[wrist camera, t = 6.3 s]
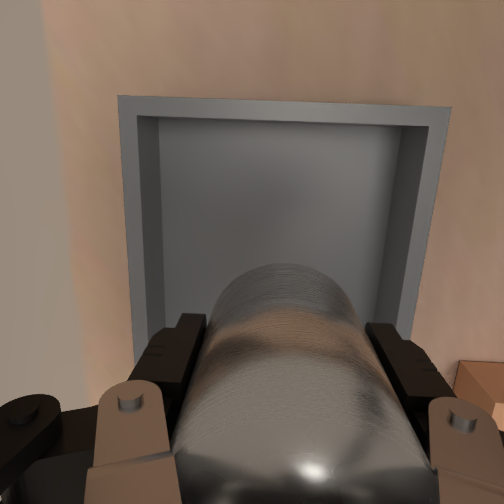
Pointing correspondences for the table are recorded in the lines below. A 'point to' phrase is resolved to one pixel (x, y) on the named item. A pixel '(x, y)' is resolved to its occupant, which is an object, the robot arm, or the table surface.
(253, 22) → the table surface
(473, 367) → the cube
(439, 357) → the table surface
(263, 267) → the cylinder
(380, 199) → the tote
